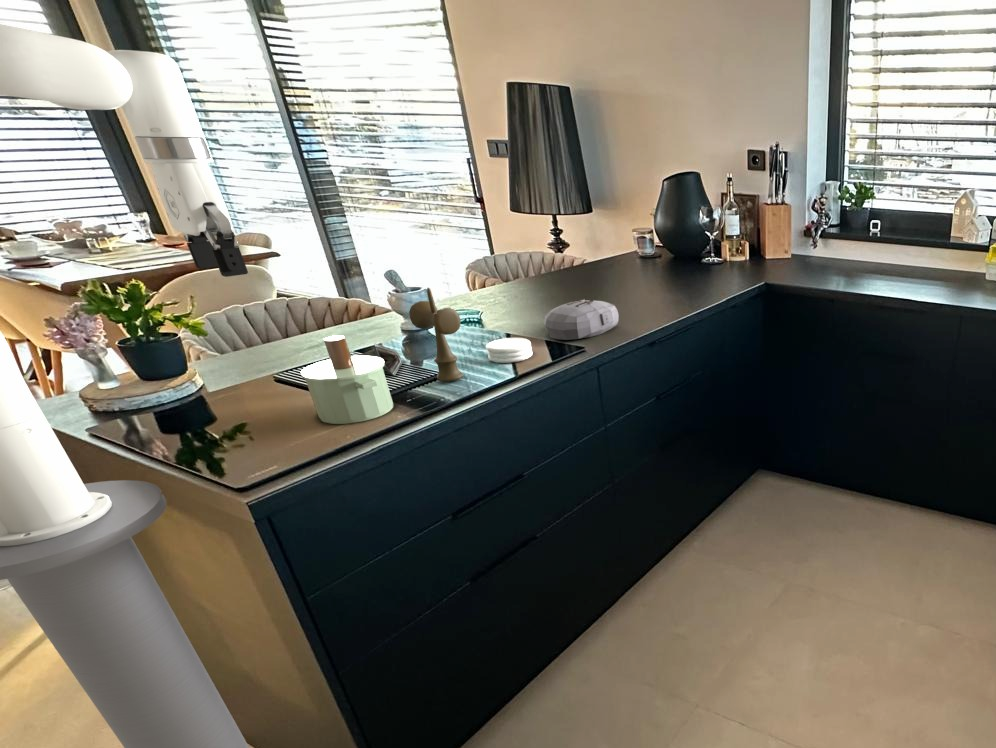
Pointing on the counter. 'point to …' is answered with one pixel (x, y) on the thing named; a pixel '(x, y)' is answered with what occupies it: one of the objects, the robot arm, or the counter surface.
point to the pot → (351, 398)
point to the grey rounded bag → (581, 319)
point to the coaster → (509, 350)
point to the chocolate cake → (386, 357)
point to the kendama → (438, 334)
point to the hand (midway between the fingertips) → (222, 271)
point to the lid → (341, 363)
